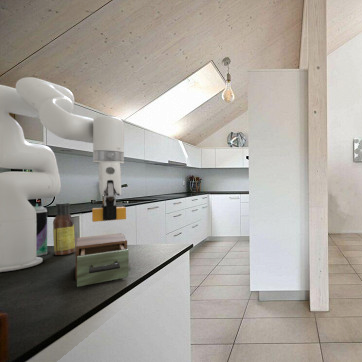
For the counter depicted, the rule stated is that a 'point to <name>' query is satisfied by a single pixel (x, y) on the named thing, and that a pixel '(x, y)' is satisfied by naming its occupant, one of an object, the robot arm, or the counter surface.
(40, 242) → the spray can
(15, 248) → the robot arm
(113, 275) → the drawer
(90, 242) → the cabinet
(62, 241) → the sauce bottle
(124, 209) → the orange block
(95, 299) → the counter surface
